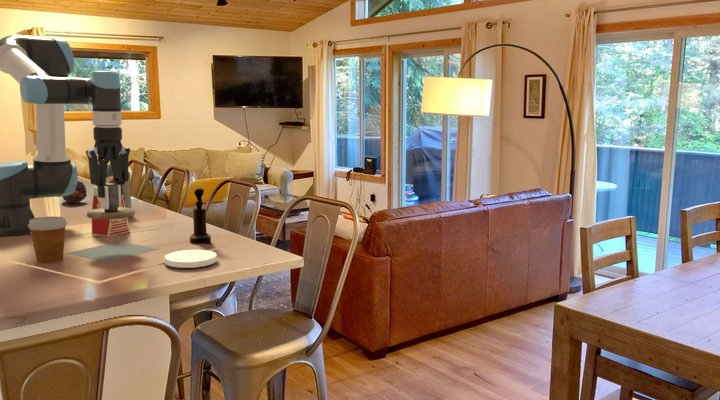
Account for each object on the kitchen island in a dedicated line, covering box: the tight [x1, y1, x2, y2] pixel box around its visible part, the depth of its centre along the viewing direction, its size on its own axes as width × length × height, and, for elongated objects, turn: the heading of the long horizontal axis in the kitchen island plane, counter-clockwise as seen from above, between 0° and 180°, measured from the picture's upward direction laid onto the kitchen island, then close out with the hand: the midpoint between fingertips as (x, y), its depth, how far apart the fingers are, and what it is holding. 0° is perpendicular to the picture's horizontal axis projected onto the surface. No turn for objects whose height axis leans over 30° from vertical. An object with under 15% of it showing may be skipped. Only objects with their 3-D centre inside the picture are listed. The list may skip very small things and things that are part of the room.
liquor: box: [106, 153, 132, 209], centre depth 234 cm, size 9×9×30 cm
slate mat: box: [66, 240, 159, 263], centre depth 177 cm, size 18×18×1 cm
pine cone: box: [61, 180, 88, 204], centre depth 260 cm, size 18×10×10 cm, turn 40°
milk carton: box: [91, 176, 131, 238], centre depth 200 cm, size 9×9×20 cm
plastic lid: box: [163, 249, 218, 269], centre depth 167 cm, size 14×14×2 cm
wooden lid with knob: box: [86, 183, 136, 219], centre depth 175 cm, size 13×13×9 cm
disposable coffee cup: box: [28, 216, 68, 264], centre depth 165 cm, size 10×10×12 cm
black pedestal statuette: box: [189, 186, 212, 245], centre depth 190 cm, size 7×6×18 cm
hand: (111, 207), depth 175 cm, fingers closed on wooden lid with knob, 3 cm apart
